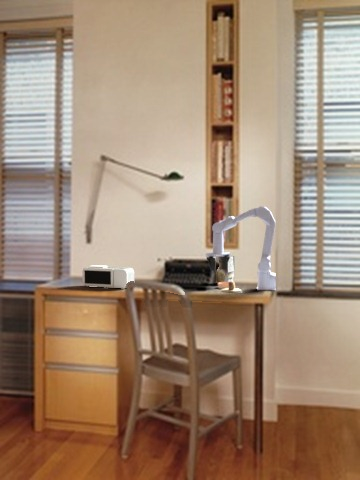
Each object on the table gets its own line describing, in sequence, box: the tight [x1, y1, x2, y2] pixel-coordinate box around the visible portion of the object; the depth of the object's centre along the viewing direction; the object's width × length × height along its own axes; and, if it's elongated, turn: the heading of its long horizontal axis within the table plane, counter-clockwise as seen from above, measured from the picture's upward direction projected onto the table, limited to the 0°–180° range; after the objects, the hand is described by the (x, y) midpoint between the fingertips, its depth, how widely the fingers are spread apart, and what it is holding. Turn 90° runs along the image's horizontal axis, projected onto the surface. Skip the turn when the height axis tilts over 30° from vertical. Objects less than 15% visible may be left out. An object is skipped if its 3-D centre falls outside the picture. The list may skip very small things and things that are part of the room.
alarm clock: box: [81, 264, 135, 290], centre depth 294 cm, size 27×9×12 cm, turn 69°
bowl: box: [217, 282, 236, 290], centre depth 288 cm, size 9×9×3 cm
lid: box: [221, 281, 242, 294], centre depth 276 cm, size 10×10×5 cm
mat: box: [220, 289, 244, 294], centre depth 276 cm, size 11×11×1 cm
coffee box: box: [215, 255, 235, 285], centre depth 307 cm, size 9×6×16 cm
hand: (218, 270), depth 290 cm, fingers open, 7 cm apart
